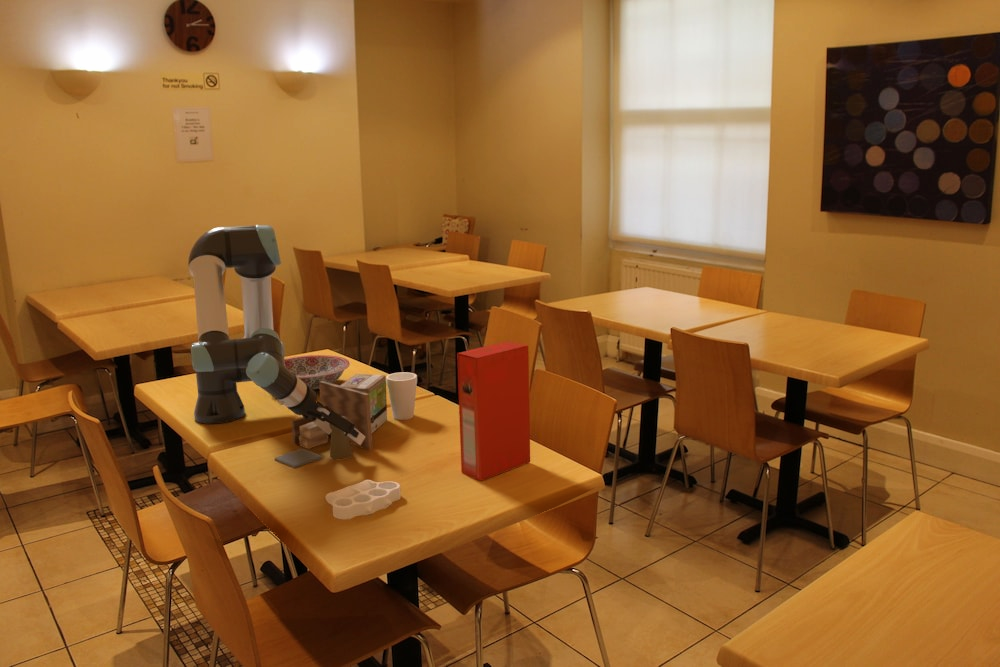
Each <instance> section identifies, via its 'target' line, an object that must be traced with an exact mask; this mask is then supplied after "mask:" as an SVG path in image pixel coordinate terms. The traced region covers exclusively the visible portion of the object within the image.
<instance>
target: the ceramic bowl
mask: <svg viewBox="0 0 1000 667" xmlns="http://www.w3.org/2000/svg"><path fill="white" fill-rule="evenodd" d="M284 362H285V367H286V368H287V369H288V370H289V371H290V372H291V373H292V374H294V375H295V376H297V377H298V378H299V379H300V380H301V381H303V382H304V383H305V384H306V385H307V386H309V387H310V388H311V389H312V390H313V391H315V390H320V388H319V382H320V381H325V382H328V383H332V384H335V382H337V381H338V380H339V379H340V378H341V377H342V375H343V373H344V371H346V369H348V368H349V367H350V365H351V362H350V361H349V359H347V358H344V357H341V356H338V355H329V354H328V355H327V354H326V355H325V354H315V355H314V354H309V355H299V356H293V357H286V358H284Z"/></svg>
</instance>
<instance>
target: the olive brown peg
mask: <svg viewBox="0 0 1000 667" xmlns="http://www.w3.org/2000/svg"><path fill="white" fill-rule="evenodd" d="M342 417H343V418H345V419H346V420H348V419H347V418H346V417H344V416H342ZM329 426H330V428H331V429H332V433H331V437H330V448H329V449H330V450H329V457H330V458H331V459H333V460H346V459H349V458H351V457H352V456H353V452H352V447H351V444H350V441H349V437H348V436H345V432H344V431H342V430H340V429H338V428H337V427H335V426H333V425H332V424H330V423H329Z"/></svg>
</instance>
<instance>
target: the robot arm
mask: <svg viewBox="0 0 1000 667" xmlns="http://www.w3.org/2000/svg"><path fill="white" fill-rule="evenodd" d="M281 263H282V261H281V256H280V251H279V247H278V242H277V237H276V231H275V229H274V227H273V226H271V225H260V224H255V225H239V226H218V227H214V228H211V229H209V230H207V231H206V232H204V233H203V234H202V235H201V236H200V237H199V238H198V239H197V240H196V241H195V243H194V244H193V246H192V247H191V250H190V252H189V256H188V263H187V264H188V272H189V274H190V275H191V276H192V277H193V287H194V288H193V289H194V300H195V301H194V302H195V311H196V312H195V316H196V325H197V338H198V339H197V340H198V342H193V343H191V344H190V356H191V364H192V369H193V370H194V371H195V374H196V376H195V377H196V385H197V398H196V403H195V407H194V412H193V415H194V416H193V417H194V420H195V421H196V422H197V423H199V424H212V425H213V424H224V423H228V422H229V423H230V422H233V421H235V420H236V421H237V420H238V419H241V418H242V417H244V416H245V414H246V412H245V411H246V410H245V409H246V408H245V405H244V403H243V400H242V398H241V396H240V394H239V391H238V387H237V383H244V382H245V383H247V382H253V383H254V384H255V385H256V386H257V387H260V388H262V390H263V391H265V392H267V393H268V394H269V395H270V396H271V397H273V398H274V399H276V400H278V401H279V402H278V405H280V406H282V405H284V406H285V407H286V408H287V409H289V410H290V411H291V412H292V413H294V414H295V415H297V416H301V417H304V418H305V419H309V420H310V421H312V422H313V421H314V422H313V423H314V424H316V425H317V426H318V427H320V428H321V429H322V430H324V431H325V432H326V433H327V434H330V433H331V432H332V429H331V428H330V426H329V423H330V424H332V425H333V426H335V427H337V428H338V429H340V430H342V431H344V432H345V436H348V437H350V438H351V439H352V440H353V441H355V442H356V443H357V444H359V445H361V444H362V442H363V440H364V439H365V437H366V436H364V435H363V434H362V433H361V432H359V431H358V430H357V429H356V428H355V424H352V423H351V422H349V421H348V420H346V419H345V418H343V417H342V416H340V415H339V414H337V413H335V412H334V411H332V410H331V409H330V408H328V406H325V407H324V406H323V405H322V404H321V402H319V401H318V400H317V398H318V397H317V393H316V391H315V390H312V389H311V388H310V387H309V386H307V385H306V384H305V383H304V382H303V381H301V380H300V379H299V378H298V377H297V376H295V375H294V374H292V373H291V372H290V371H289V370H288V369H287V368H286V367H285V362H284V359H285V346H284V343H283V342H282V341H281V339H280V336H279V334H278V333H277V331H275V330H274V316H273V315H274V313H273V296H272V294H273V293H272V275H273V274H274V273H275V272H276V269H277V266H280V265H281ZM226 268H227V269H234V272H235V274H236V275H237V276H238V277H240V286H241V302H242V313H243V327H244V336H243V337H242V338H233V339H231V338H230V334H229V332H230V331H229V324H228V322H229V321H228V314H227V306H226V304H227V303H226V296H225V287H224V276H223V275H224V273H225V272H226ZM322 416H323V417H322Z"/></svg>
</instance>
